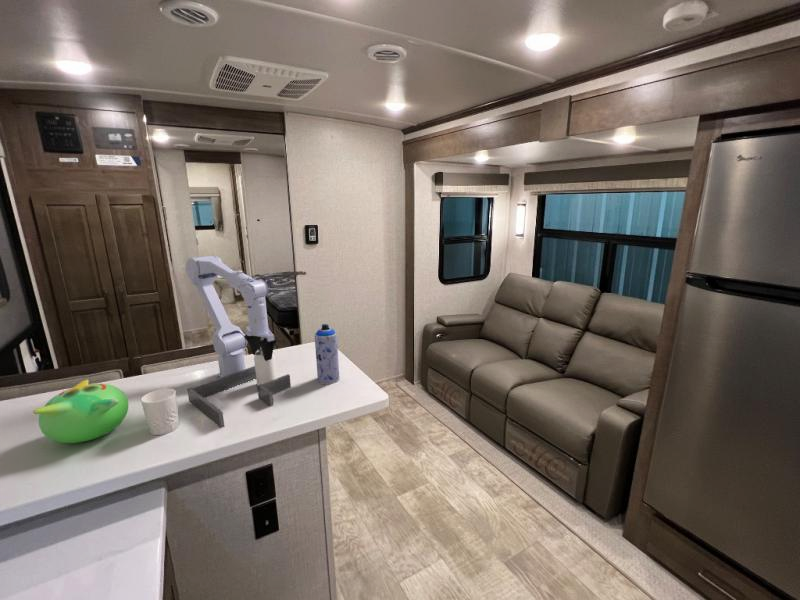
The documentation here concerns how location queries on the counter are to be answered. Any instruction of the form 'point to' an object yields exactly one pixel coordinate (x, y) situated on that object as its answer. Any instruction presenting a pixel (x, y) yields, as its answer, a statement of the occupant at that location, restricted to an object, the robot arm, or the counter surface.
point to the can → (264, 368)
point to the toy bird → (83, 412)
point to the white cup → (161, 411)
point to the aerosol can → (327, 355)
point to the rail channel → (229, 381)
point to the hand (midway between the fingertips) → (262, 356)
